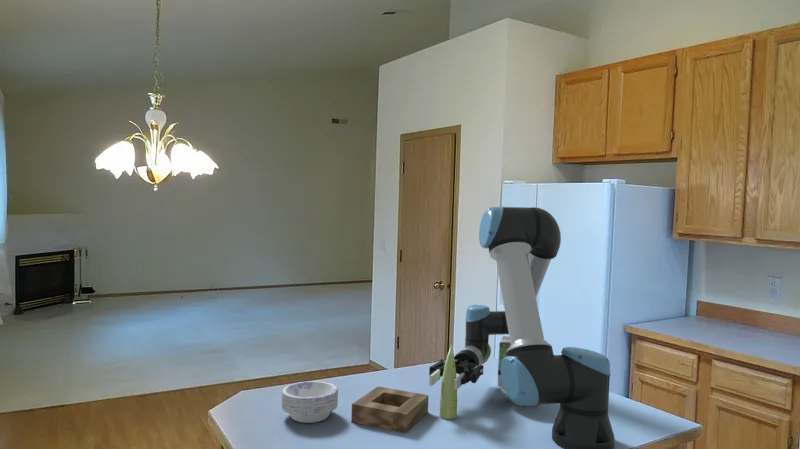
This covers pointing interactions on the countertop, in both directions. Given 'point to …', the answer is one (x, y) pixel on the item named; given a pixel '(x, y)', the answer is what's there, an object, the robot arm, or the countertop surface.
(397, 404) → the socket block
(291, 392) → the paper bowls
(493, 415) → the countertop surface
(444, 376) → the tube
